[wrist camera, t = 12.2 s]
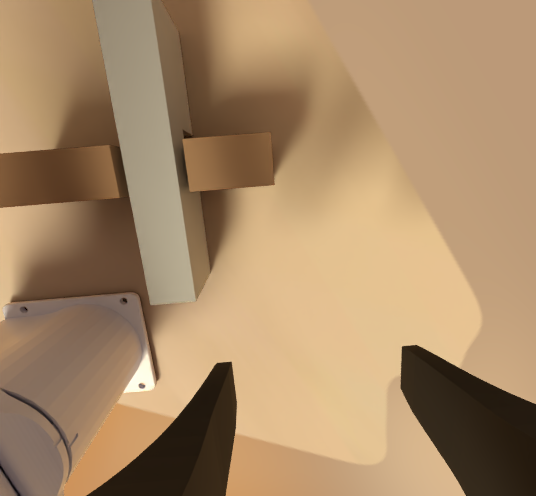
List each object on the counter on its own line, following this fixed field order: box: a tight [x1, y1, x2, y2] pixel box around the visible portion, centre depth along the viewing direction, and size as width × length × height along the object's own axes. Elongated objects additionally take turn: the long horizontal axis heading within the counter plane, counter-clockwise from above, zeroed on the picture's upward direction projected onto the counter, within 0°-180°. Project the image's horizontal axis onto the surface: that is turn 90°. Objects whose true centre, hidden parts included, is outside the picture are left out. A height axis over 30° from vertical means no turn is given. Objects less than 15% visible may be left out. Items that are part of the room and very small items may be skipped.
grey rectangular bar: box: [92, 0, 211, 305], centre depth 16 cm, size 15×2×5 cm, turn 5°
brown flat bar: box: [0, 132, 275, 208], centre depth 16 cm, size 14×2×5 cm, turn 95°
